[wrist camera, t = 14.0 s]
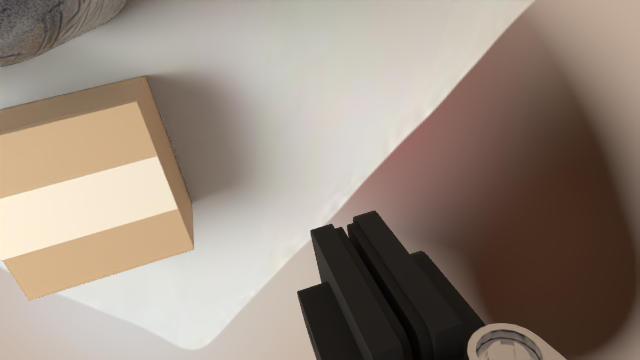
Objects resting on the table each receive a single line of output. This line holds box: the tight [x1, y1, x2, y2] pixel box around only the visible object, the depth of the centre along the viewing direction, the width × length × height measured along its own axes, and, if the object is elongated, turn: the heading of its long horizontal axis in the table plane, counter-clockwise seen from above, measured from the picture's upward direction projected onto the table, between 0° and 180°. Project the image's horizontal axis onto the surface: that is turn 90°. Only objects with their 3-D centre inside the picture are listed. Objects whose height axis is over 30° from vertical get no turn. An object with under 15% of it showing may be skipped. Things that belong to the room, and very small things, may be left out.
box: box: [0, 76, 194, 244], centre depth 39 cm, size 14×14×8 cm
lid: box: [0, 99, 194, 301], centre depth 35 cm, size 14×14×1 cm
